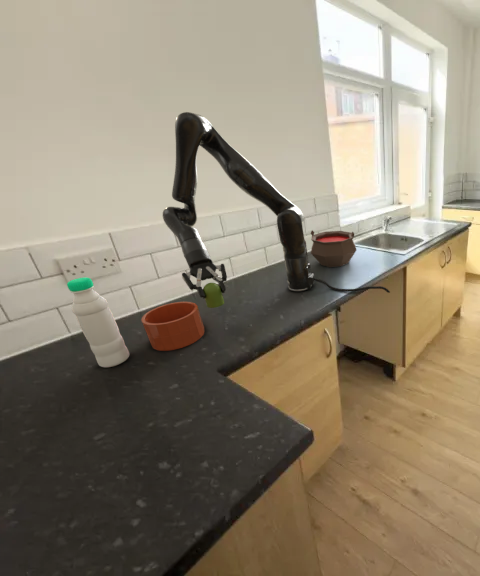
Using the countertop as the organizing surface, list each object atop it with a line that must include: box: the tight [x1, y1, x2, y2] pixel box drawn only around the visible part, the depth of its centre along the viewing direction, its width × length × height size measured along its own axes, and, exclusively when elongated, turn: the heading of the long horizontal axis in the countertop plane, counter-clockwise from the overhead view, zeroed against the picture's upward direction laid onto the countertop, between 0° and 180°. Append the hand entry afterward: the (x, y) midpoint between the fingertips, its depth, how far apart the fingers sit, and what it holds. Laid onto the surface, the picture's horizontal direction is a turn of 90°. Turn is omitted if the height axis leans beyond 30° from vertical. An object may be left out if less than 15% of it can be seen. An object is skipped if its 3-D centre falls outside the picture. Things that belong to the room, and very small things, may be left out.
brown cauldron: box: [310, 229, 357, 268], centre depth 158 cm, size 24×24×16 cm
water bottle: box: [66, 276, 130, 368], centre depth 85 cm, size 7×7×25 cm
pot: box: [140, 301, 205, 352], centre depth 99 cm, size 15×15×9 cm
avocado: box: [202, 282, 225, 309], centre depth 112 cm, size 6×6×8 cm
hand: (214, 294), depth 110 cm, fingers closed on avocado, 5 cm apart
